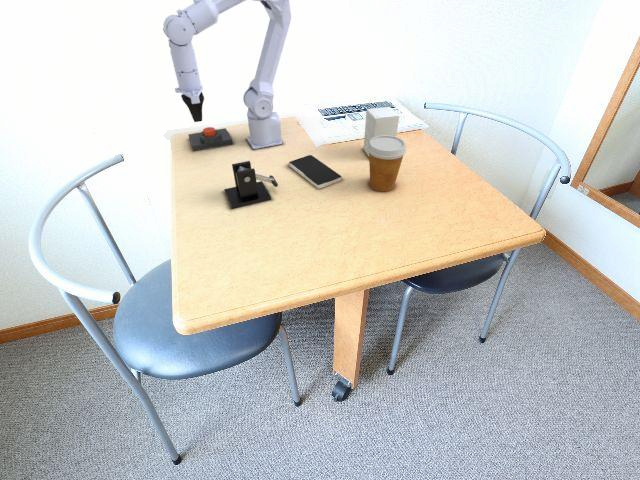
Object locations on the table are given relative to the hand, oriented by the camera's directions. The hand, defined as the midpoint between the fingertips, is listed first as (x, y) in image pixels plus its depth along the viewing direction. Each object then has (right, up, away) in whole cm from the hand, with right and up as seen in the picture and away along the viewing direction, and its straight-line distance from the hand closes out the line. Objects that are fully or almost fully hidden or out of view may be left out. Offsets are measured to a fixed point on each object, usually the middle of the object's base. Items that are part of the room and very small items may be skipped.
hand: (198, 120), depth 104 cm
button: (0, -1, +10) cm, 10 cm away
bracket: (+16, -22, -10) cm, 30 cm away
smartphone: (+33, -15, -2) cm, 36 cm away
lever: (+18, -19, -12) cm, 29 cm away
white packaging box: (+52, -8, +7) cm, 53 cm away
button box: (0, -2, +13) cm, 13 cm away
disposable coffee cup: (+51, -19, -7) cm, 55 cm away
